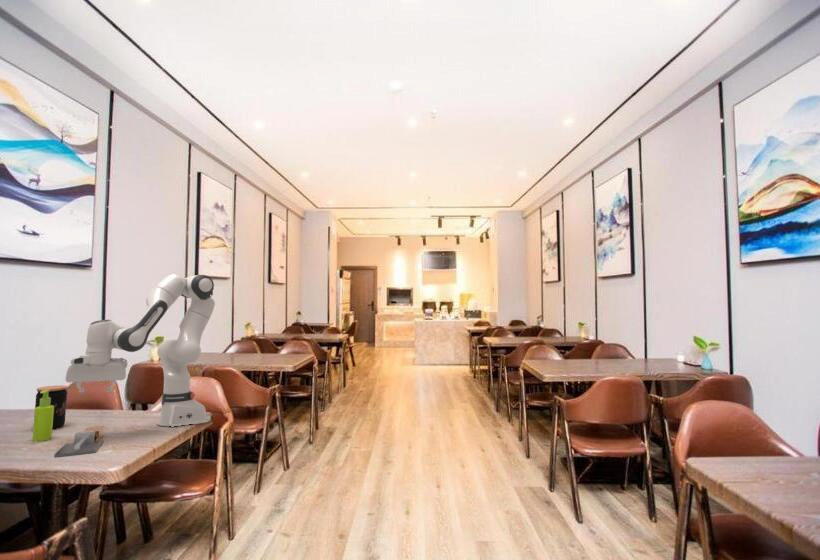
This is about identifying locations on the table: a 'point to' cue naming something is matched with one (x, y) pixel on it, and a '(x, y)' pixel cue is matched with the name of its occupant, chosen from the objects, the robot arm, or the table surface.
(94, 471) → the table surface
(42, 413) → the soap dispenser
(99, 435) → the lock block
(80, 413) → the table surface
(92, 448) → the dock plate
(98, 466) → the table surface
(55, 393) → the coffee jar
